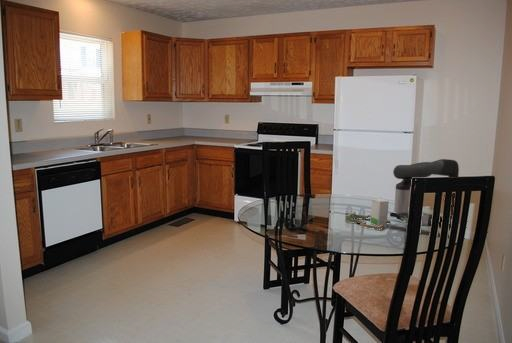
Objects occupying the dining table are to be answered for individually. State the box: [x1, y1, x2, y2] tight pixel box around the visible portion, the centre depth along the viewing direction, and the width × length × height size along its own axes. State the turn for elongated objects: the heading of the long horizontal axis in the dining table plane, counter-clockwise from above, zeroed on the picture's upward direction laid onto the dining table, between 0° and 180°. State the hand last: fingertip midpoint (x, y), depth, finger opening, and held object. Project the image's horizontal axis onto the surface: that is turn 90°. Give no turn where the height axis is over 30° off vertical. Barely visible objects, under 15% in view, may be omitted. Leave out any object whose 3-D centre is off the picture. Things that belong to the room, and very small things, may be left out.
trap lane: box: [345, 211, 391, 231], centre depth 251 cm, size 24×24×4 cm
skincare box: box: [369, 197, 389, 227], centre depth 246 cm, size 8×7×16 cm
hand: (390, 214), depth 243 cm, fingers closed
